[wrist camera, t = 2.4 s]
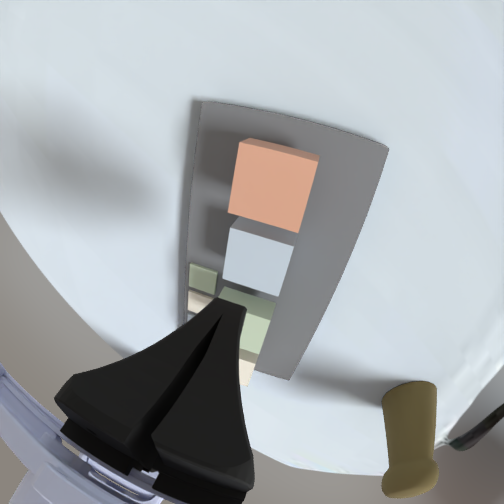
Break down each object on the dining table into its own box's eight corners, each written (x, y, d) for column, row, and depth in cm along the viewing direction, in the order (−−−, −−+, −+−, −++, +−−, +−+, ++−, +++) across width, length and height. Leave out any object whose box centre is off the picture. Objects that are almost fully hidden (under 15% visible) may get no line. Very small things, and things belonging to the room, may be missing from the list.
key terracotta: (302, 219, 14) (298, 233, 13) (238, 201, 14) (227, 212, 13) (320, 155, 12) (318, 162, 11) (249, 137, 13) (239, 142, 11)
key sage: (264, 337, 19) (259, 354, 18) (219, 321, 19) (210, 337, 18) (276, 303, 17) (270, 320, 16) (224, 286, 18) (215, 301, 16)
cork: (370, 405, 24) (361, 502, 15) (405, 376, 20) (407, 488, 11) (412, 414, 23) (410, 501, 14) (448, 386, 20) (456, 484, 11)
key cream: (252, 371, 21) (247, 386, 20) (213, 357, 22) (206, 372, 21) (261, 347, 20) (255, 364, 18) (217, 332, 20) (209, 348, 19)
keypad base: (291, 371, 24) (288, 382, 23) (188, 336, 25) (182, 345, 24) (385, 145, 13) (390, 149, 12) (209, 101, 14) (200, 101, 13)
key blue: (283, 280, 17) (278, 296, 16) (231, 264, 18) (222, 278, 16) (298, 232, 15) (293, 246, 14) (239, 215, 16) (229, 227, 14)
